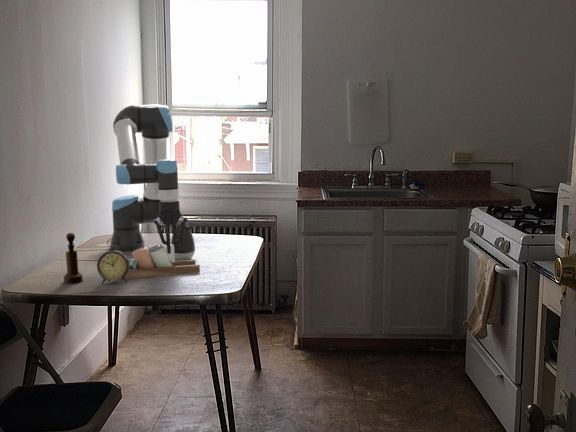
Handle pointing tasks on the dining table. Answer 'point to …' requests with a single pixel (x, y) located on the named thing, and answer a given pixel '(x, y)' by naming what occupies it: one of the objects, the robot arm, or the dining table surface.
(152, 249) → the jar
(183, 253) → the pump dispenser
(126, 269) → the alarm clock
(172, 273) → the lane
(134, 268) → the pusher
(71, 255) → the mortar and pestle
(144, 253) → the jar in lane
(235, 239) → the dining table surface
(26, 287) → the dining table surface
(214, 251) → the dining table surface
